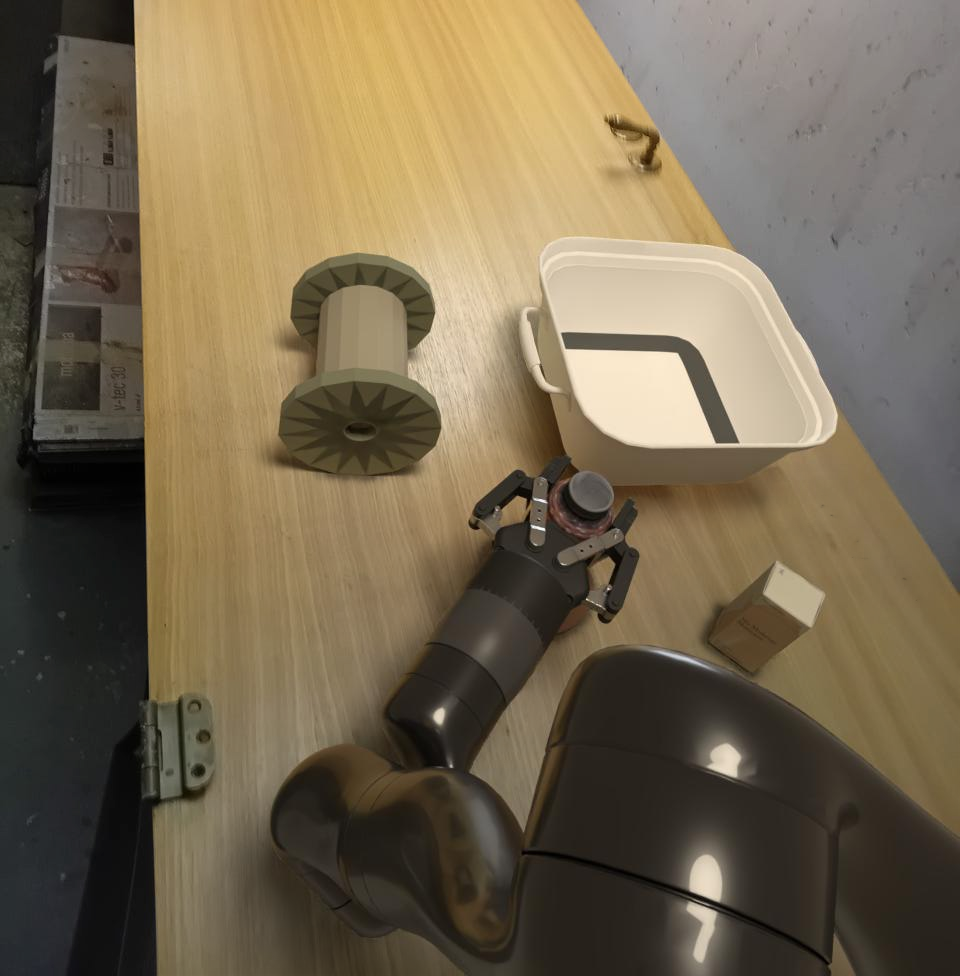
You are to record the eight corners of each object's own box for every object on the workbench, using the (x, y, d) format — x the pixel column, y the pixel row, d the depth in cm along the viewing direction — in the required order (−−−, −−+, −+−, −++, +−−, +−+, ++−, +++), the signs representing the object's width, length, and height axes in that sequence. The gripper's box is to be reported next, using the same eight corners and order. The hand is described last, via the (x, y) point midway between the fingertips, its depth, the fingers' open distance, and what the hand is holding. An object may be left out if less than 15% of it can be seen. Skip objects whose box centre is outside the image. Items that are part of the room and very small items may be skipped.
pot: (518, 530, 85) (561, 448, 75) (474, 320, 104) (504, 230, 93) (807, 520, 95) (882, 445, 84) (720, 329, 113) (773, 248, 102)
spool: (424, 479, 87) (454, 389, 76) (274, 470, 83) (284, 374, 73) (420, 356, 98) (445, 263, 87) (287, 344, 94) (297, 245, 84)
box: (706, 641, 82) (759, 590, 74) (722, 609, 85) (775, 556, 77) (754, 676, 80) (813, 628, 73) (768, 642, 83) (827, 592, 75)
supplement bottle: (510, 567, 76) (547, 501, 68) (531, 516, 80) (567, 448, 72) (571, 596, 76) (615, 533, 68) (588, 543, 80) (632, 478, 72)
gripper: (597, 671, 57) (687, 507, 69) (427, 547, 61) (540, 409, 72) (563, 710, 63) (652, 552, 74) (408, 593, 66) (516, 459, 77)
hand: (596, 482), depth 73 cm, fingers closed on supplement bottle, 6 cm apart
